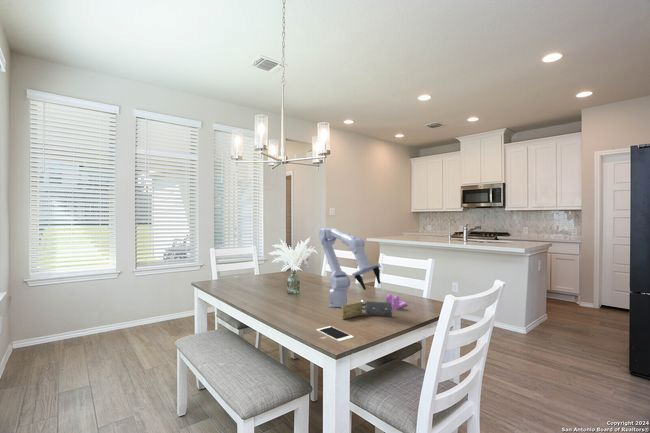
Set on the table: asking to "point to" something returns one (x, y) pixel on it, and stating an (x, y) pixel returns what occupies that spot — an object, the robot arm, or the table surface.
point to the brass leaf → (352, 310)
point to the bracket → (395, 302)
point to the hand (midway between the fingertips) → (372, 286)
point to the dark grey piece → (377, 308)
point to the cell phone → (335, 333)
